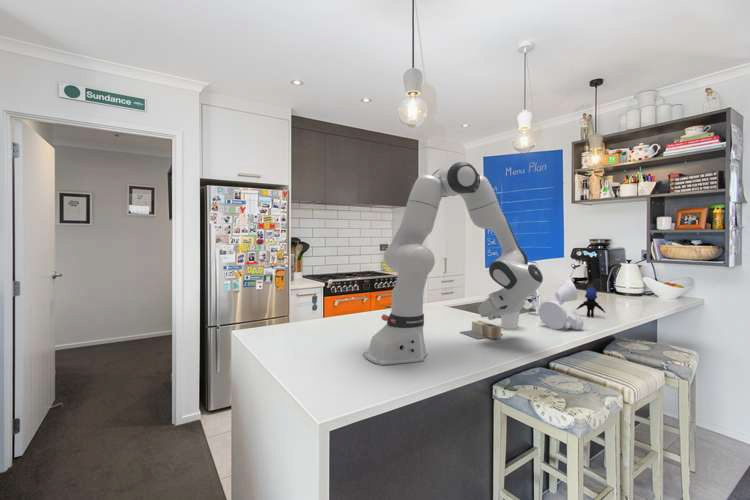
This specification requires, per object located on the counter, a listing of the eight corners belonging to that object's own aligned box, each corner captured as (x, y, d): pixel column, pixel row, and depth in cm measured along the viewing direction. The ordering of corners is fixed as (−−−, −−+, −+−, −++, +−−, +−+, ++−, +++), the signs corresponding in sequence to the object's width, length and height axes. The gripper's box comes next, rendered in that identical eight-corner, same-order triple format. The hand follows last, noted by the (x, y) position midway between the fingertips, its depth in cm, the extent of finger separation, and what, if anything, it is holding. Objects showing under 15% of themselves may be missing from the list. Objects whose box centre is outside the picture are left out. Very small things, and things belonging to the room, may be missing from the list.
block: (493, 327, 150) (471, 321, 160) (492, 339, 150) (471, 331, 161) (501, 326, 152) (479, 320, 163) (500, 337, 152) (479, 330, 163)
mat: (477, 339, 151) (477, 338, 151) (459, 332, 160) (459, 332, 160) (503, 335, 157) (503, 334, 157) (483, 328, 167) (483, 328, 167)
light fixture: (607, 304, 162) (572, 275, 172) (589, 316, 153) (553, 285, 163) (575, 338, 178) (545, 310, 188) (556, 350, 170) (526, 320, 180)
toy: (605, 317, 192) (606, 288, 191) (605, 319, 187) (606, 289, 186) (576, 314, 199) (577, 285, 198) (575, 316, 194) (576, 287, 193)
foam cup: (522, 331, 164) (523, 301, 163) (500, 329, 166) (500, 300, 165) (518, 325, 173) (519, 297, 173) (497, 324, 175) (498, 296, 175)
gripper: (524, 289, 151) (505, 309, 161) (487, 293, 142) (468, 314, 151) (533, 302, 148) (513, 322, 157) (495, 307, 138) (476, 327, 147)
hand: (490, 318), depth 154 cm, fingers closed
